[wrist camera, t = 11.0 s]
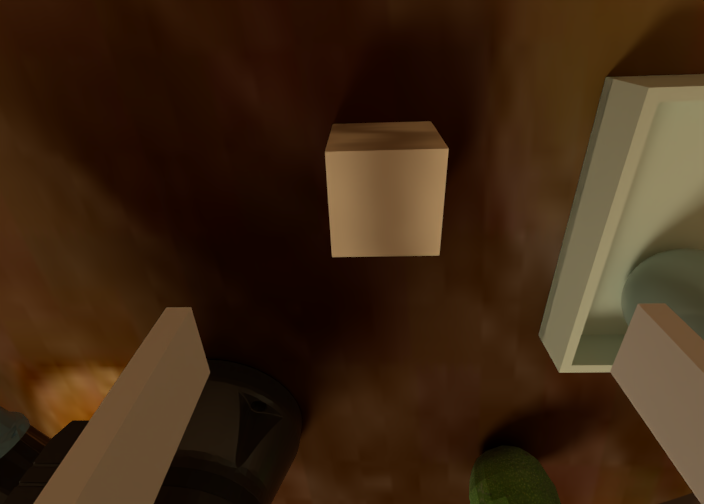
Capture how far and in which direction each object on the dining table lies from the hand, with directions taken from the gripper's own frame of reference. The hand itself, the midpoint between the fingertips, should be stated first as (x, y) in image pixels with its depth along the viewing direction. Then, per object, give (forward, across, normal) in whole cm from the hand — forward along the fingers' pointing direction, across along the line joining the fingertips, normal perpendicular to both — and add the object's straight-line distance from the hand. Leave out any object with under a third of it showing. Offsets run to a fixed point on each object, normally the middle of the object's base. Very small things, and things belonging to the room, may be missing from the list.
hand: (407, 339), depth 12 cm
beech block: (+16, 0, 0) cm, 16 cm away
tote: (+16, +20, -4) cm, 26 cm away
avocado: (+16, +12, -30) cm, 36 cm away
